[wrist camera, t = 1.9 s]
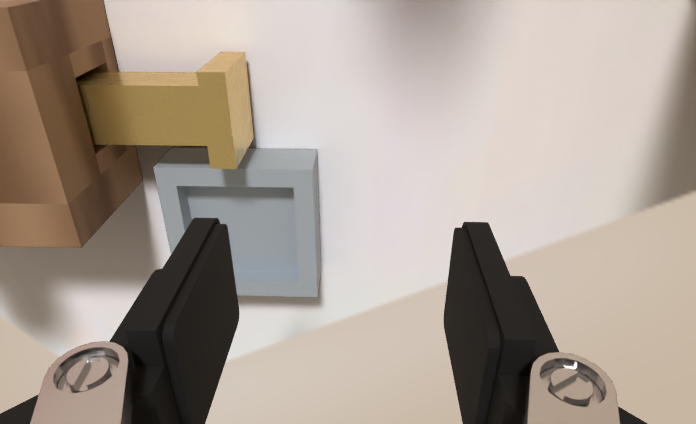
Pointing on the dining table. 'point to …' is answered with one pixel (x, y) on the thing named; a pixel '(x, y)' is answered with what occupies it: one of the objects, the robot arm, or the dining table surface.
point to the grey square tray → (251, 214)
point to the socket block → (55, 125)
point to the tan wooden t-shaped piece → (174, 108)
